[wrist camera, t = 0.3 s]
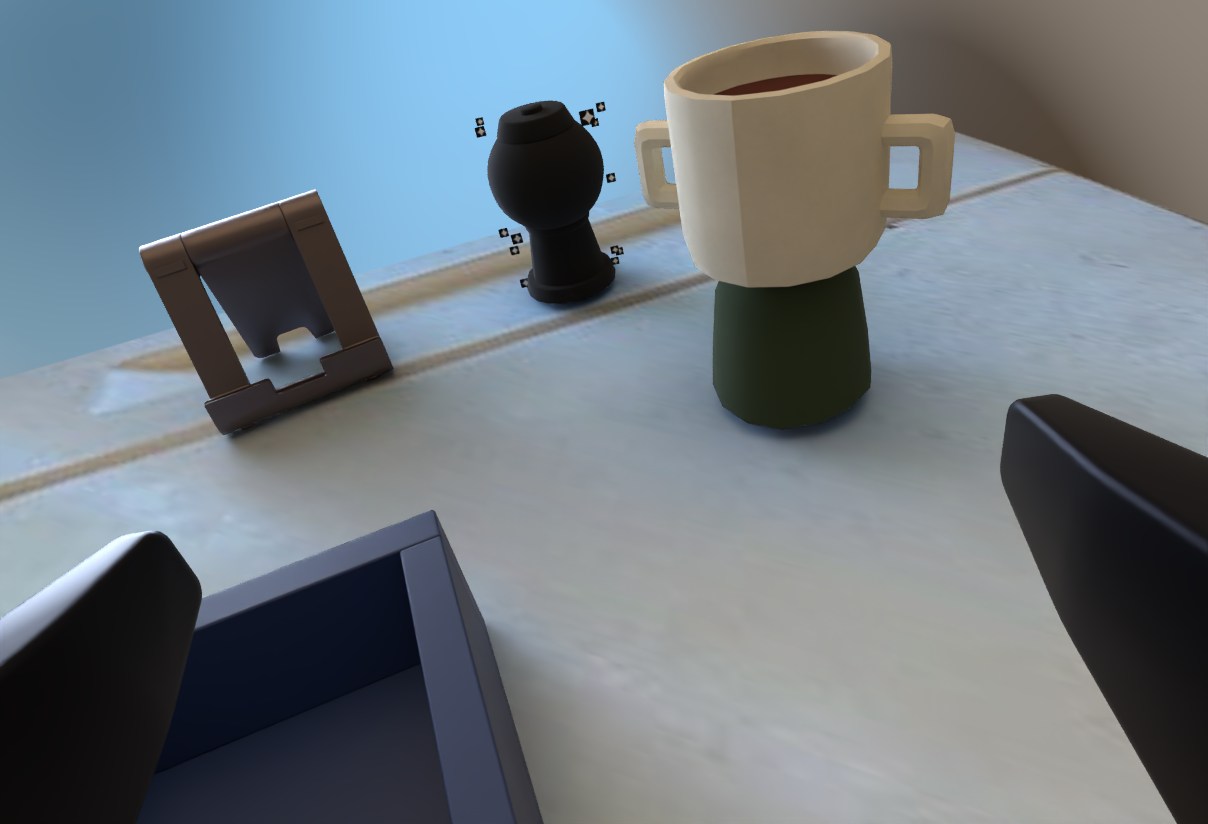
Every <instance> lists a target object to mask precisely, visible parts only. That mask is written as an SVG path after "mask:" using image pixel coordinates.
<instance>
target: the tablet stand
mask: <svg viewBox="0 0 1208 824" xmlns="http://www.w3.org/2000/svg"><path fill="white" fill-rule="evenodd" d="M139 252H140V255H141V258H142V261H143V264H144V267H145V269H146V271H147V272H148V274H149V275H150V277H151V279H152V281H153V283H154V285H155V288H156V290H157V292H158V294H159V296H160V298H161V300H162V302H163V304H164V306H165V308H166V310H167V312H168V314H169V316H170V318H171V320H172V322H173V324H174V326H175V328H176V330H177V332H178V334H179V336H180V338H181V340H182V342H183V344H184V346H185V348H186V350H187V352H188V354H189V356H190V358H191V360H192V362H193V365H194V367H195V369H196V371H197V373H198V375H199V377H200V379H201V381H202V383H203V385H204V387H205V389H206V391H207V393H208V395H209V397H210V399H211V400H209V401H206V402H205V408H206V410H207V412H208V413H209V415H210V417H211V418H212V420H213V422H214V424H215V425H216V427H217V428H218V430H219V431H220V432H221V433H222V434H223V435H226V434H228V433H231V432H233V431H236V430H238V429H245V428H247V427H250V426H252V425H254V424H255V423H256V422H259V421H261V420H264V419H266V418H269V417H272V416H274V415H277V414H279V413H282V412H284V411H287V410H290V409H292V408H295V407H297V406H300V405H302V404H305V403H307V402H310V401H313V400H315V399H318V398H320V397H323V396H325V395H328V394H330V393H333V392H336V391H338V390H341V389H343V388H346V387H348V386H351V385H353V384H356V383H359V382H361V381H364V380H366V379H367V380H370V379H372V378H375V377H377V376H379V375H380V374H382V373H384V372H387V371H389V370H392V369H394V368H393V366H392V363H391V361H390V359H389V356H388V354H387V352H386V349H385V347H384V345H383V342H382V340H381V338H380V336H379V334H378V332H377V329H376V327H375V325H374V322H373V320H372V318H371V315H370V313H369V311H368V308H367V306H366V304H365V301H364V299H363V297H362V294H361V292H360V290H359V288H358V285H357V283H356V281H355V278H354V276H353V274H352V272H351V269H350V267H349V264H348V262H347V260H346V257H345V255H344V253H343V251H342V248H341V246H340V244H339V241H338V239H337V237H336V234H335V232H334V230H333V227H332V225H331V223H330V220H329V218H328V216H327V214H326V211H325V209H324V206H323V204H322V202H321V200H320V197H319V195H318V193H317V191H316V190H312V191H309V192H306V193H303V194H300V195H297V196H294V197H291V198H288V199H285V200H282V201H279V202H276V203H272V204H270V205H266V206H263V207H260V208H257V209H254V210H251V211H248V212H245V213H242V214H239V215H236V216H233V217H229V218H227V219H223V220H220V221H217V222H214V223H211V224H208V225H205V226H202V227H199V228H196V229H193V230H190V231H187V232H183V233H181V234H177V235H174V236H171V237H168V238H165V239H162V240H159V241H156V242H153V243H149V244H146V245H143V246H140V248H139ZM200 276H202V278H203V279H204V281H205V282H206V284H207V285H208V287H209V289H210V290H211V292H212V293H213V294H214V296H215V298H216V299H217V301H218V302H219V303H220V305H221V306H222V308H223V310H224V311H225V313H226V314H227V315H228V317H229V318H230V320H231V321H232V323H233V324H234V326H235V327H236V329H237V330H238V332H239V333H240V335H241V336H242V338H243V339H244V341H245V342H246V344H247V345H248V347H249V348H250V350H251V351H252V353H253V355H254V356H255V357H257V358H264V357H267V356H270V355H272V354H275V353H278V352H280V348H279V345H278V342H277V337H278V336H279V335H281V334H283V333H286V332H288V331H291V330H294V329H297V328H299V327H306V328H307V329H308V330H309V331H310V332H311V333H312V334H313V335H314V337H315V338H318V337H321V336H323V335H326V334H329V333H331V332H333V331H334V330H335V332H336V334H337V337H338V339H339V341H340V343H341V346H342V348H343V350H341V351H338V352H335V353H333V354H330V355H328V356H325V357H322V358H320V362H321V365H322V367H323V369H324V371H321V372H318V373H316V374H313V375H310V376H308V377H305V378H303V379H300V380H297V381H295V382H292V383H290V384H287V385H284V386H282V387H279V388H277V389H275V387H274V386H273V384H272V382H271V381H270V379H264V380H262V381H259V382H256V383H254V384H250V382H249V380H248V378H247V376H246V374H245V372H244V370H243V368H242V365H241V363H240V361H239V359H238V357H237V355H236V353H235V351H234V349H233V347H232V345H231V342H230V340H229V338H228V336H227V334H226V332H225V330H224V328H223V326H222V324H221V322H220V320H219V317H218V315H217V313H216V311H215V309H214V307H213V305H212V303H211V301H210V299H209V297H208V295H207V292H206V290H205V288H204V286H203V284H202V282H201V279H200Z"/></svg>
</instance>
